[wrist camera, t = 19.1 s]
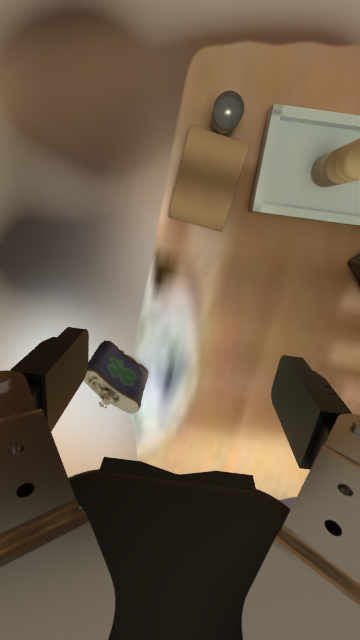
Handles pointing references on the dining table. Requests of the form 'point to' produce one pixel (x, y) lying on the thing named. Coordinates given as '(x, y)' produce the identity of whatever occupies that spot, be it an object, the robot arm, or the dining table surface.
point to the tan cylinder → (338, 166)
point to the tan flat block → (207, 178)
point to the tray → (304, 165)
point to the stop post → (226, 113)
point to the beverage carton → (356, 267)
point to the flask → (116, 378)
